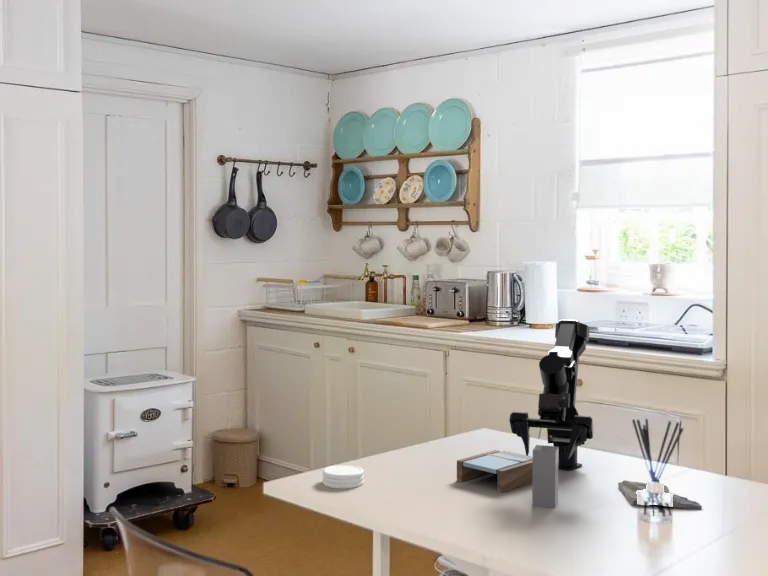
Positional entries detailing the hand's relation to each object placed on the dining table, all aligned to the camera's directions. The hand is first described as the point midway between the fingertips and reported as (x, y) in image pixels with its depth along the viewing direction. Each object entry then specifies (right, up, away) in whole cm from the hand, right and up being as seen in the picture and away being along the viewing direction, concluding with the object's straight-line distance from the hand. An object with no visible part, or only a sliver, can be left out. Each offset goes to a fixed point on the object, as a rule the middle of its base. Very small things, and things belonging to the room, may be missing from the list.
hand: (547, 456), depth 203 cm
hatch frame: (-8, -9, +17) cm, 21 cm away
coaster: (-47, -10, +15) cm, 50 cm away
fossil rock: (+25, -11, +3) cm, 28 cm away
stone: (-1, -10, -2) cm, 10 cm away
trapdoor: (-8, -7, +17) cm, 20 cm away
